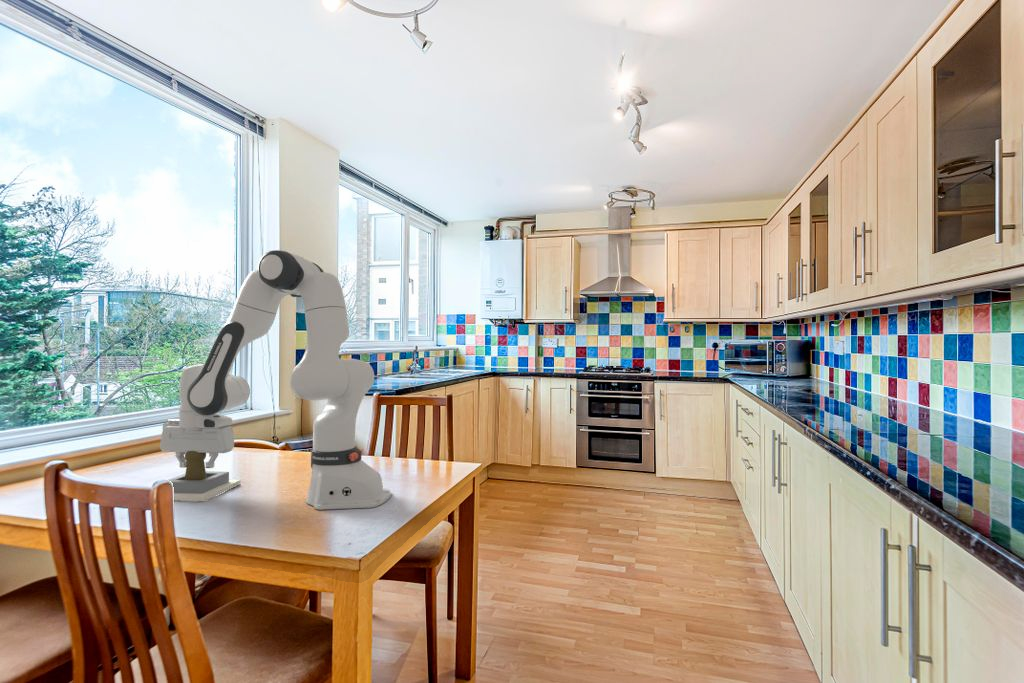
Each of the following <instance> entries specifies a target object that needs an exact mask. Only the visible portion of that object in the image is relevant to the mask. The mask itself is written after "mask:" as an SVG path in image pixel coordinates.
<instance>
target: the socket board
mask: <svg viewBox="0 0 1024 683" xmlns="http://www.w3.org/2000/svg"><path fill="white" fill-rule="evenodd" d="M205 471H206V470H205ZM168 480H169V481H171V482H172V483H173V487H174V500H175V501H174V502H178V501H177V500H181V501H180V502H197V501H205V502H207V501H209V500H211V499H213V498H215V497H217V496H216V495H218V494H220V493H222V492H224V491H226V490H228V491H230V490H232V489H231V488H233V487H235V486H237V485H239V484H240V485H241V479H230V471H208V470H207V471H206V479H203V480H201V481H198V480H185V473H183V474H181V475H177V476H175V477H174V476H173V477H172V478H169V479H168ZM240 485H239V486H240ZM237 487H238V486H237ZM235 488H236V487H235ZM229 489H230V490H229ZM233 489H234V488H233ZM226 492H227V491H226ZM224 493H225V492H224ZM222 494H223V493H222ZM220 495H221V494H220ZM214 496H215V497H214ZM218 496H219V495H218ZM212 497H213V498H212ZM210 498H211V499H210ZM208 499H209V500H208ZM206 500H207V501H206Z"/></svg>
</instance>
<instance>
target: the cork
mask: <svg viewBox="0 0 1024 683" xmlns="http://www.w3.org/2000/svg"><path fill="white" fill-rule="evenodd" d="M184 457H185V459H186V461H187V467H186V468H185V473H184V474H185V480H198V481H201V480H203V479H206V463H205V459H206V458H207V453H199V452H196V451H188V452H185V454H184Z"/></svg>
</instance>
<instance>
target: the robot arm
mask: <svg viewBox="0 0 1024 683" xmlns="http://www.w3.org/2000/svg"><path fill="white" fill-rule="evenodd" d="M341 286H342V285H341V283H340V281H339V279H338V277H337V276H336V275H334V274H333V273H330V272H327V271H326V272H325V271H324V269H323V268H321V267H320V265H318V264H317V263H314V262H312V261H309V260H308V259H306V258H304V257H303V256H300V255H298V254H295V253H290V252H288V251H287V250H286V251H285V250H277V249H276V250H269V251H267V252H266V253H264V254H263V255H262V256H261V257H260V258H259V261H258V264H257V269H256V270H253V271H251V272H250V273H249V274H248V275H247V277H246V278H245V280H244V282H243V284H242V285H241V287H240V290H239V292H238V294H237V297H236V300H235V303H234V305H233V308H232V311H231V313H230V315H229V317H228V318H227V319H226V320H227V321H226V322H225V324H224V325H223V326H222V328H221V330H220V331H219V333H218V335H217V337H216V339H215V340H214V343H213V345H212V348H210V349H211V350H210V351H209V353H208V356H207V358H206V361H205V363H202V364H193V365H190V366H189V365H188V366H187V367H185V368H183V370H182V372H181V374H180V380H179V398H180V407H179V412H178V417H179V418H178V419H167V421H164V422H163V423H162V433H161V435H160V436H161V437H160V442H159V443H160V444H159V447H160V448H159V449H160V450H161V451H162V453H175V458H176V459H177V461H178V463H179V468H180V469H182V468H183V469H186V467H187V461H186V459H185V454H186V452H188V451H196V452H199V453H206V454H208V457H210V458H209V460H208V461H205V469H213V468H215V461H217V460H216V459H217V458H218V457H219V454H226V453H227V454H228V453H230V452H231V451H233V449H234V448H235V433H234V430H233V428H232V424H233V418H232V417H231V416H227V415H224V414H222V413H220V412H223V411H226V410H230V409H233V408H238V407H240V406H242V405H244V404H245V403H247V401H248V400H249V397H250V393H251V388H250V386H249V383H248V381H247V380H246V379H245V378H243V377H241V376H238V375H235V374H234V375H233V374H230V372H231V370H232V368H233V365H234V363H235V361H236V358H237V356H238V355H239V353H240V352H241V351H242V350H243V348H245V347H246V346H247V345H248V344H250V343H252V342H254V341H255V340H257V339H260V338H262V337H263V336H266V334H268V332H269V331H270V329H271V328H272V326H273V324H274V322H275V319H276V317H277V313H278V310H279V307H280V304H281V301H282V300H283V299H284V298H285V297H286V296H288V295H290V297H292V298H302V302H303V308H304V317H305V326H306V327H305V328H306V346H305V351H304V354H303V356H302V357H301V359H300V361H299V363H298V364H295V366H294V368H293V369H292V371H291V373H290V375H289V376H290V377H289V385H290V388H291V391H292V392H293V394H294V395H295V396H296V397H297V398H299V399H301V400H302V399H303V400H308V401H324V400H326V404H325V407H324V408H323V410H322V411H321V412H320V413H319V414H318V415H317V416H316V417H315V418H314V420H313V424H312V448H311V451H310V467H311V477H310V482H309V484H310V485H309V489H308V493H307V496H306V499H305V502H306V504H308V505H311V506H313V508H314V509H315V510H321V511H322V510H338V509H339V510H340V509H341V510H342V509H367V508H370V509H371V508H376V507H379V506H381V505H382V504H384V503H386V502H387V501H388V500H389V499H390V497H391V495H392V492H391V490H390V489H388V488H384V486H383V479H382V477H381V474H380V472H379V471H377V470H376V469H374V468H373V467H371V466H370V465H368V464H367V463H366V462H365V461H363V460H362V454H363V453H364V448H362V449H359V448H358V447H357V446H356V424H357V423H356V421H357V417H358V412H359V409H360V407H361V404H362V401H363V400H364V397H365V395H366V394H367V392H368V391H370V390H371V389H372V387H373V385H374V382H375V371H374V369H373V367H372V365H370V363H369V362H367V361H365V360H361V359H356V358H340V357H339V354H340V349H341V346H342V344H344V343H345V342H346V341H347V340H348V338H349V336H350V329H349V322H348V313H347V306H346V301H345V300H346V299H345V297H344V293H343V290H342V287H341Z"/></svg>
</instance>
